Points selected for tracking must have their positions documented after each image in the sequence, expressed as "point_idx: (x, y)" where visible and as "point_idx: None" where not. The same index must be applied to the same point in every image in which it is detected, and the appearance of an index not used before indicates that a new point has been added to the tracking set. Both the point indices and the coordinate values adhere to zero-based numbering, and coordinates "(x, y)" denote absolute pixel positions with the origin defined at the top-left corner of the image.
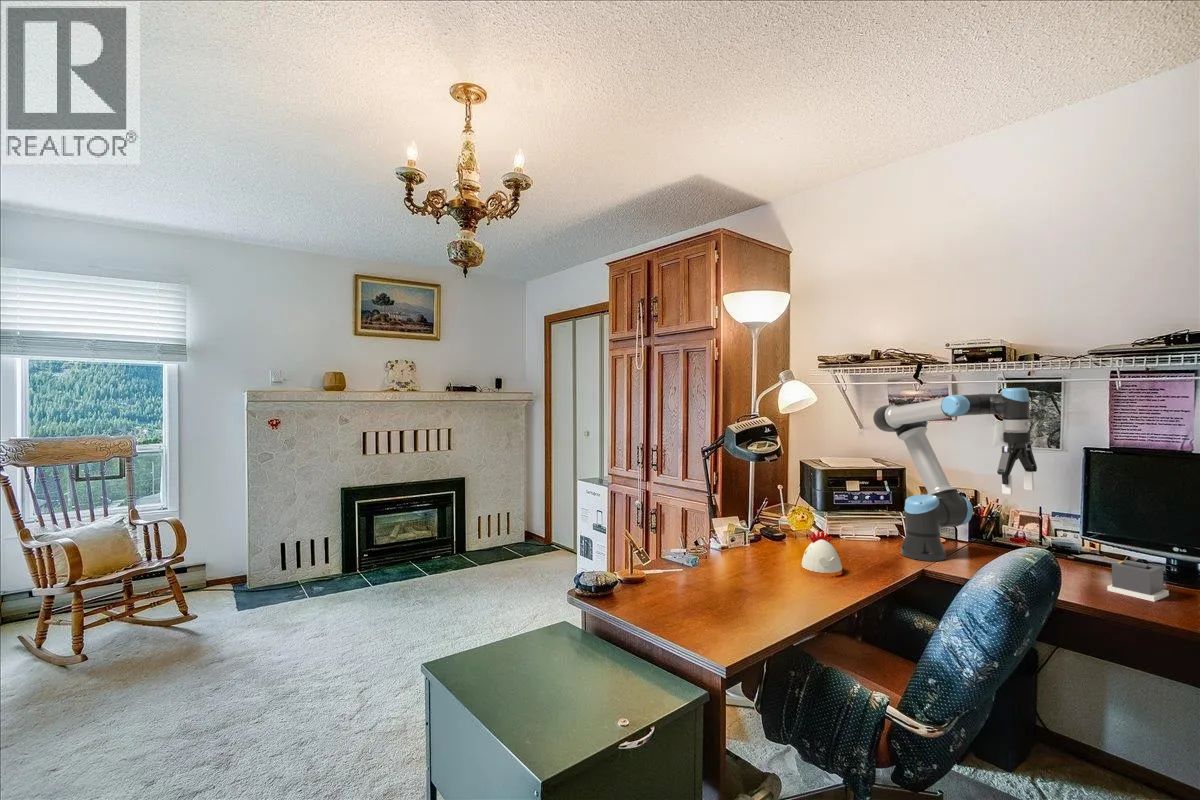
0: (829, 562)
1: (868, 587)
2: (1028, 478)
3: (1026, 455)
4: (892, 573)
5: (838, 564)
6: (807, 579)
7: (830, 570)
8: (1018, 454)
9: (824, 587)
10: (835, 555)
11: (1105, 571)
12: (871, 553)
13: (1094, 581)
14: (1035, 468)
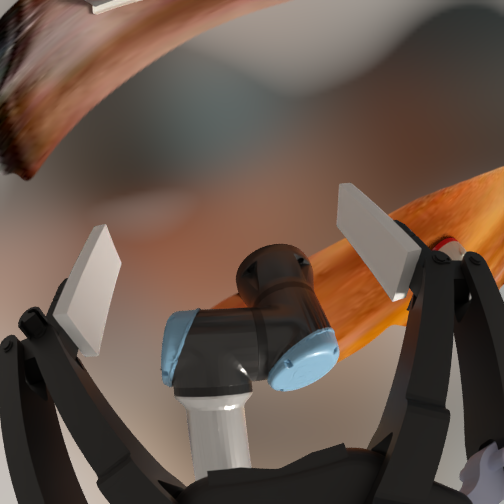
0: (464, 250)
1: (461, 193)
2: (93, 292)
3: (159, 500)
4: (400, 221)
5: (452, 249)
6: (468, 241)
7: (458, 243)
8: (415, 474)
9: (479, 215)
10: (459, 259)
11: (36, 94)
12: (330, 303)
13: (119, 41)
14: (15, 341)
